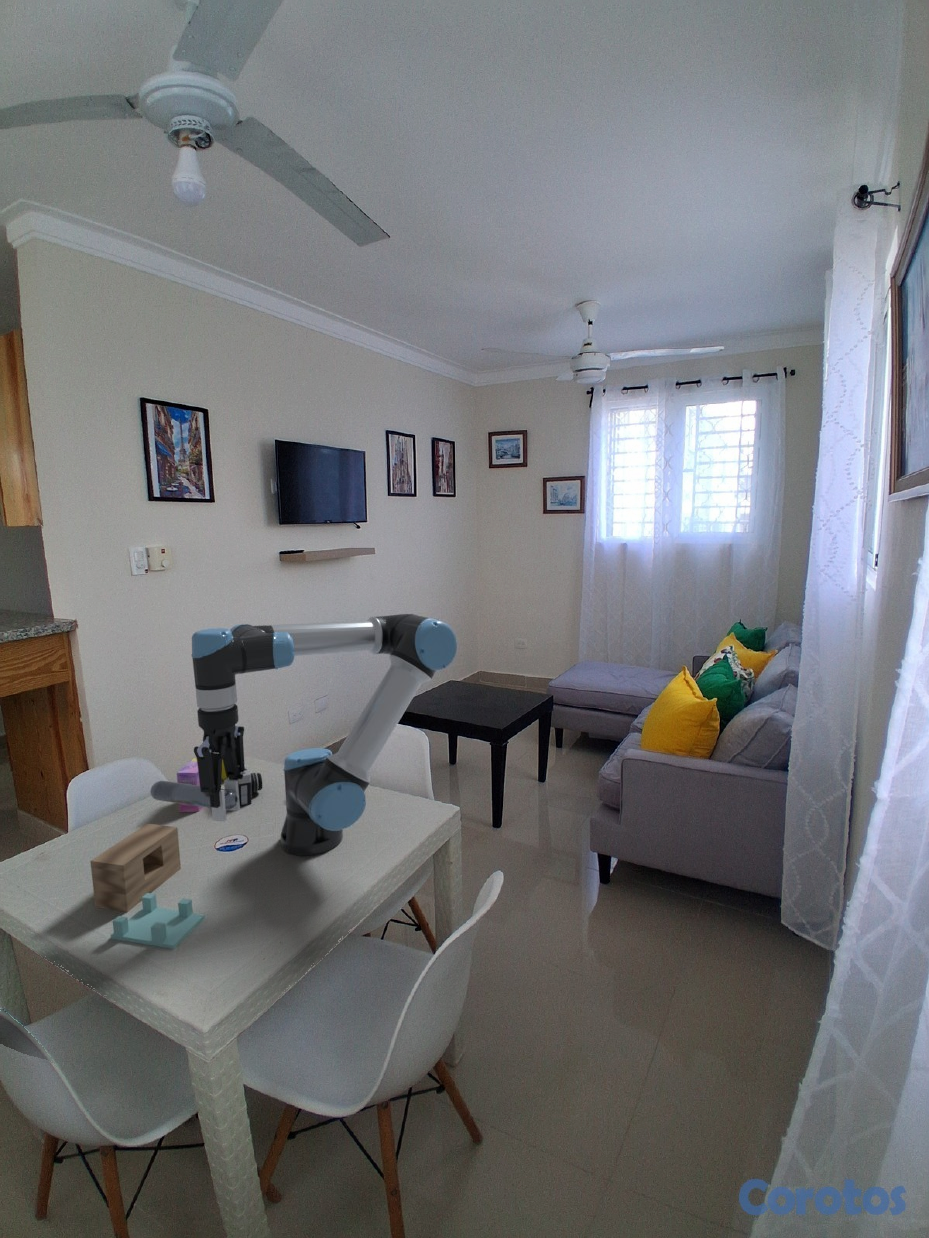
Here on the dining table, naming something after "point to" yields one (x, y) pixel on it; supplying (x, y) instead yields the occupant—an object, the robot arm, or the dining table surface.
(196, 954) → the dining table surface
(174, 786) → the axle
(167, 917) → the cradle
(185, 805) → the box
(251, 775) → the camera
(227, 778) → the lemon
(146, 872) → the beam
